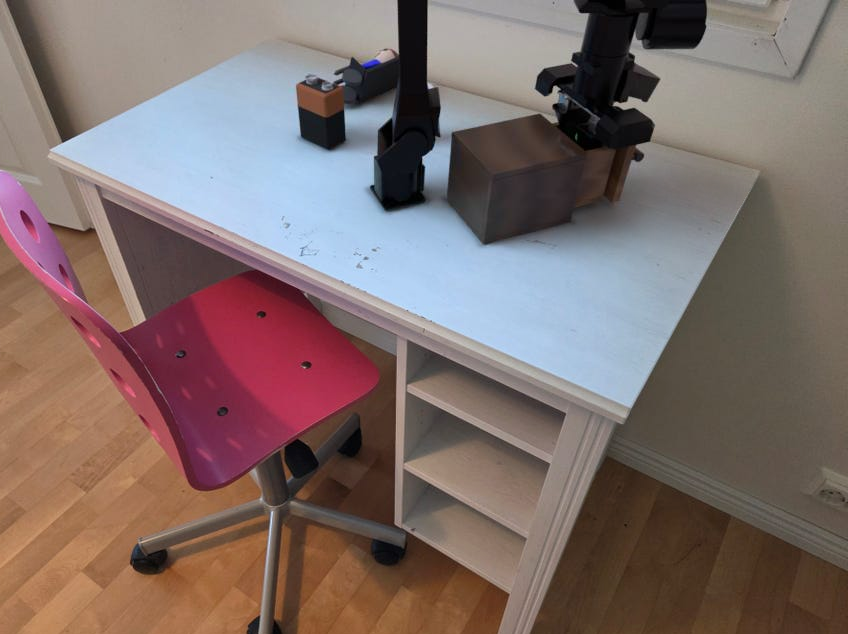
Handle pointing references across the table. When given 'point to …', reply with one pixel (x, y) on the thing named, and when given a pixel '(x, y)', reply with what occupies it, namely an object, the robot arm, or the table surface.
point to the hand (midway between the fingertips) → (577, 162)
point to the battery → (321, 111)
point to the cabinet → (513, 177)
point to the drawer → (605, 173)
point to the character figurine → (369, 77)
